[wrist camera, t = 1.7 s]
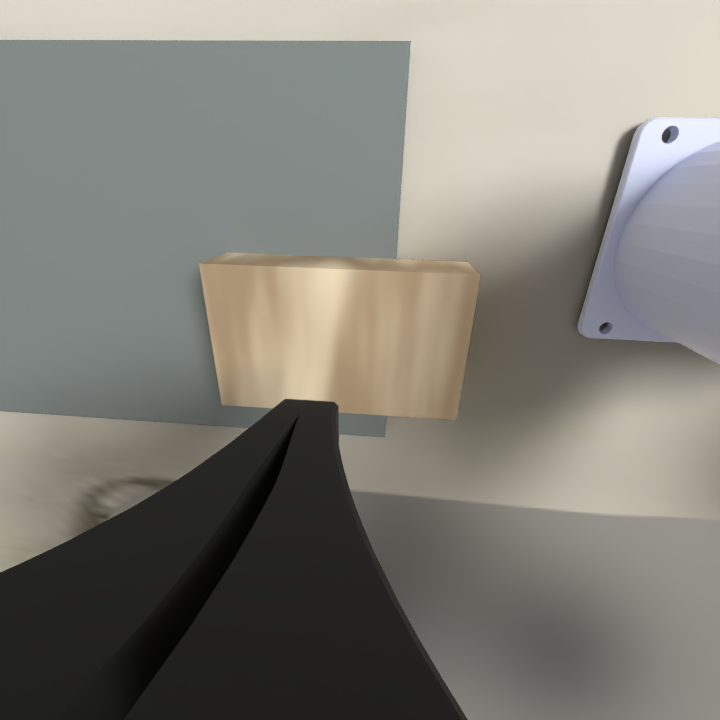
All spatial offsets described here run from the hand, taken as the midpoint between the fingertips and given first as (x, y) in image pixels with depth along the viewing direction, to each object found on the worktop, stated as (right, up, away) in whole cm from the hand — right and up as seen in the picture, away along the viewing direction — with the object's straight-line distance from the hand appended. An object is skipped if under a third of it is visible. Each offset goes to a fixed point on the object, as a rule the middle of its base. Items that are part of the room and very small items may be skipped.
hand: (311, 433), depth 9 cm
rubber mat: (-8, +6, +7) cm, 13 cm away
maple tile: (-5, +3, +6) cm, 8 cm away
